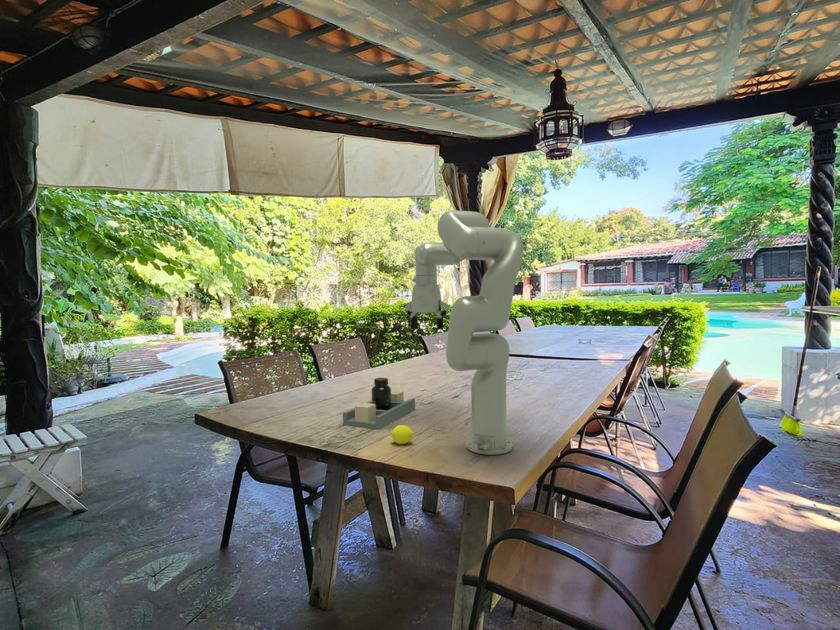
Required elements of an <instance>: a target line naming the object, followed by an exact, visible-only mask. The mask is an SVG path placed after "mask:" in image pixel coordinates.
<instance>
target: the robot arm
mask: <svg viewBox="0 0 840 630" xmlns="http://www.w3.org/2000/svg"><path fill="white" fill-rule="evenodd" d="M437 222H438V223H437V234H438V236H439V238H440V240H441V241H442V242H424V243H423V244H421V245H418V246H416V247H415V249H414V262H415V263H414V265H415V268H414V269H415V276H414V277H413V278H412V282H413V283H415V285H414V284H413V287H412V292H411V301H410V302H409V303H407V304H405V305H404V309H405V311H406V313H407V315H408V316H409V318H410V319H411V329H412V330H417V329H419V328H418V327H419V325H418V324H419V323H418V321H419V320H418V317H417V316H418V315H419V314H433V313H434V314H435V315H436V316H437V318H436V330H439V331H440V330H443V327H444V318H445V316H446V315H447V314H448V313H449V310H450V308H451V310H450V315H449V320H448V321H449V323H448V331H447V339H446V351H445V356H446V357H445V358H446V361H447V364H448V367H450V369H452V370H453V371H457V372H466V371H475V373H474V375H473V377H472V380H471V384H470V385H471V387H470V388H471V389H470V392H471V396H470V397H471V438H469V439H468V440H466V448H467V449H468V450H469V451H470V452H472V453H476V454H479V455H484V456H485V455H487V456H495V455H503V454H506V453H509V452H511V451H512V450H513V448H514V447H513V442H512V441H510V440H509V439H508V437H507V436H508V435H507V426H508V425H507V424H508V423H507V373H508V371H507V370H508V364H509V360H510V359H509V358H510V344H509V342H508V340H507V338H506V337H504V336H503V335H501V334H498V333H491V332H496V331H500V330H503V329H505V328H506V327H507V326H508V323H509V320H510V317H511V316H510V315H511V311H512V305H513V298H514V292H515V285H516V281H517V277H518V274H519V271H520V268H521V265H522V263H523V258H524V246H523V242H522V239H521V237H520V236H519V234H518V233H517V232H515V231H513V230H512V229H508V228H502V227H491V226H490V222H489V220H488V218H487V217H486V216H485V215H484V214H482V213H481V212H479V211H471V210H455V209H453V210H447V211H445V212H443V214H441V215H440V217H439V220H438V221H437ZM465 260H466V261H467V260H469V261H494V262H493V263H492V264H491V265H490V266H489V267H488V269H487V270H486V271H485V273H484V275H483V276H482V279H481V287H480V292H479V294H478V295H467V296H466V295H465V296H462V297H461V296H460V297H459V298H457V300H455V301H454V303H453V305H452V307H451V305H449V304H448V303H446V302H445V301H443V300H442V297H441V296H442V295H441V294H442V293H441V288H440V285H439V284H438V275H437V274H438V273H437V271H438V269H437V267H438V266H454V265H455V266H456V265H457V264H459V263H461V262H463V261H465ZM442 307H444V309H443V310H442ZM483 332H485V333H483ZM486 332H487V333H486ZM474 333H475V334H474Z"/></svg>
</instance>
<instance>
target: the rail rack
mask: <svg viewBox="0 0 840 630" xmlns="http://www.w3.org/2000/svg"><path fill="white" fill-rule="evenodd" d="M404 395H405V394H404V390H403V391H401V390H391V409H389V410H387V411H386V410H377V409H376V404H372V400H369V401H367V402H362V403H358V404H356V405H355V406H354V407H353V408H351V409H349V410H346V411H344V412H342V425H343V426H349V427H359V428H364V429H365V428H366V429H373V430H381V429H383V428H385V427H387V426H389V425H390V424H392V423H394V422H395V420H396V421H398V420H400V418H403V417H404V415H405V416H406V415H408V414H410V413H412V412H413V411H416V398H409V399H407V400H406V401H404V400H405V399H404ZM411 411H412V412H411ZM393 421H394V422H393ZM386 425H387V426H386ZM384 426H385V427H384Z"/></svg>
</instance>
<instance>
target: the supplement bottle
mask: <svg viewBox="0 0 840 630" xmlns="http://www.w3.org/2000/svg"><path fill="white" fill-rule="evenodd" d="M373 381H374V382H373V384H374V386H373V387H372V388H371V401H372V404H376V409H377V410H386V411H387V410H389V409H391V391H392V388H391V386H389V385H388V384H389V379H388V378H387V377H376V378H374V380H373Z"/></svg>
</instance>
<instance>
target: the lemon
mask: <svg viewBox="0 0 840 630" xmlns="http://www.w3.org/2000/svg"><path fill="white" fill-rule="evenodd" d="M414 435H415V432H414V431H413V430H412V429H411V427H409V426H408V425H403V424H399V425H397V426H395V428H393V429H392V431H391V433H390V437H391V439H392V440H393V442H395V443H396V444H397V445H406V444H408V443H409V442H411V440H412V438H413V437H414Z"/></svg>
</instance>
